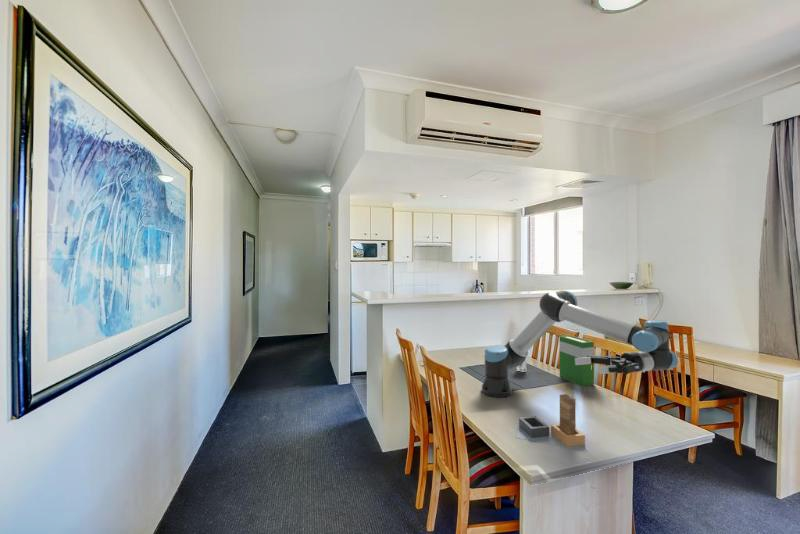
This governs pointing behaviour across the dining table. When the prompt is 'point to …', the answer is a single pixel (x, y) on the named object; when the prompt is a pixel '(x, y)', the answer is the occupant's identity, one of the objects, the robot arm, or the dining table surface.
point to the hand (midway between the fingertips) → (586, 365)
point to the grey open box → (536, 431)
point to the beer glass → (522, 366)
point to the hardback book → (568, 353)
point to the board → (547, 439)
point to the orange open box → (568, 436)
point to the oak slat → (567, 414)
